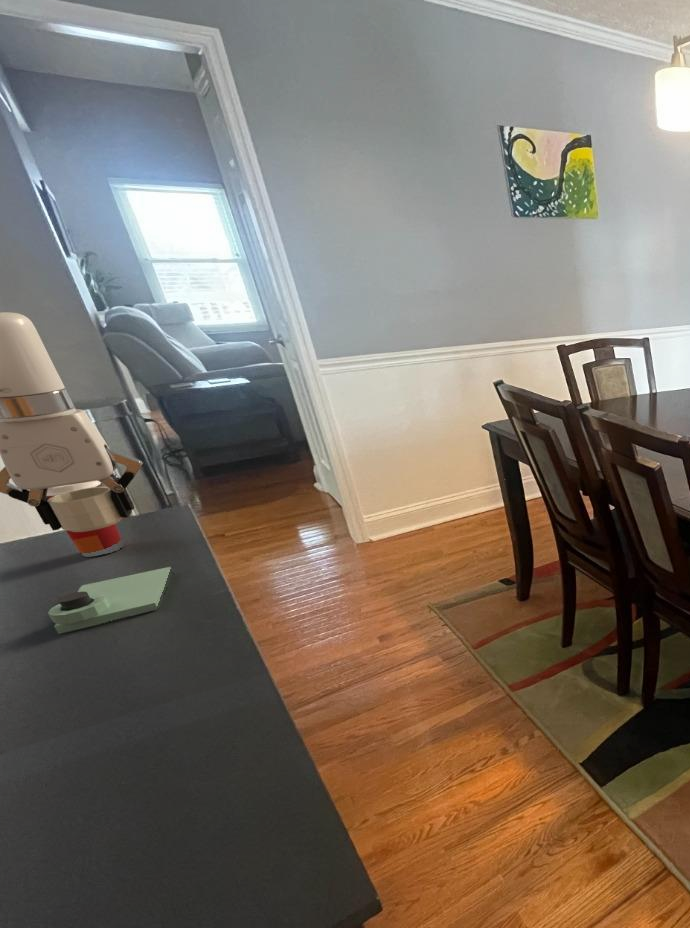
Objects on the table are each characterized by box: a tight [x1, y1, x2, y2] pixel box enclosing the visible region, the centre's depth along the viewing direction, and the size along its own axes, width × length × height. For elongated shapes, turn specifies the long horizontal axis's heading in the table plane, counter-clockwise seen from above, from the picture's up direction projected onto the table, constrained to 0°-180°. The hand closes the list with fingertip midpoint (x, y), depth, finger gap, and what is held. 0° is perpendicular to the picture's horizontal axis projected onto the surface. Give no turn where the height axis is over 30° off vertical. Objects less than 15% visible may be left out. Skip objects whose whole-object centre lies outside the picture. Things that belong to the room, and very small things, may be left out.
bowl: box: [47, 486, 124, 532], centre depth 91 cm, size 7×7×5 cm
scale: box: [47, 566, 172, 635], centre depth 94 cm, size 12×16×3 cm
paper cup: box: [46, 480, 122, 554], centre depth 110 cm, size 8×8×14 cm
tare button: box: [58, 591, 92, 611], centre depth 88 cm, size 3×3×2 cm
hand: (93, 520), depth 91 cm, fingers closed on bowl, 6 cm apart
